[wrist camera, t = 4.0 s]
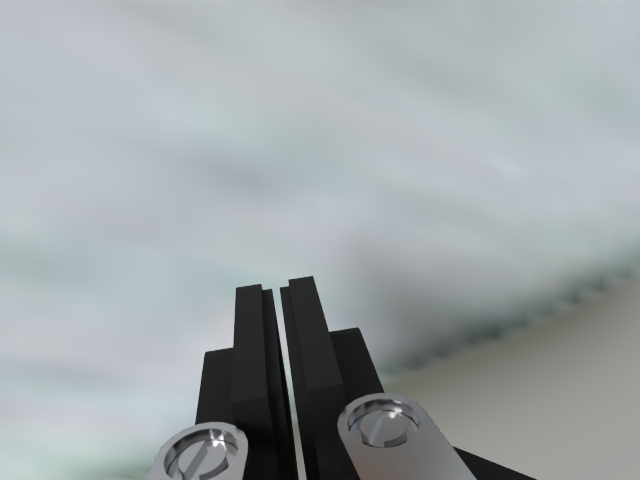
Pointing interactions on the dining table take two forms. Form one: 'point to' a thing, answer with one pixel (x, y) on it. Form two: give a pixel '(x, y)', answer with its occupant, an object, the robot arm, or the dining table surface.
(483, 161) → the dining table surface
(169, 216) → the dining table surface
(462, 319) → the dining table surface
